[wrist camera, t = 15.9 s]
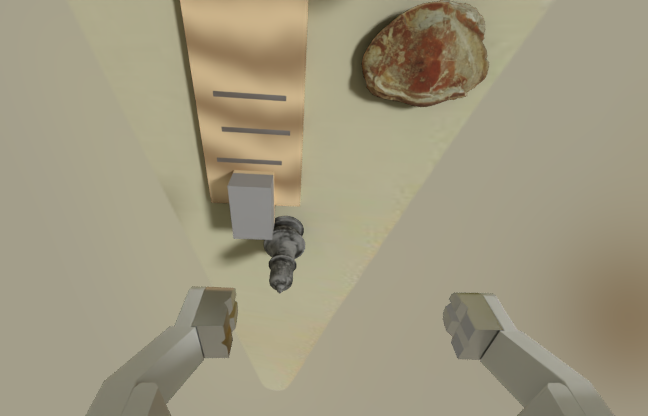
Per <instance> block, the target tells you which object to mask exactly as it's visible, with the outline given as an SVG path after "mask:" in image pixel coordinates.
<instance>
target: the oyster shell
mask: <svg viewBox="0 0 648 416" xmlns="http://www.w3.org/2000/svg"><path fill="white" fill-rule="evenodd" d="M484 32H485V21H484V18H483V16H481V15H480V14H479V12H478V11H477V9H476V8H474V7H472V6H471V5H469V4H466V3H464V4H462V3H456V2H453V1H450V0H440V1H438V2H429V3H424V4H421V5H417V6H415V7H413V8H411V9H409V10H407V11H406V12H404V13H403V14H401V15H399V16H398V17H397V18H395V19H394V20H393V21H392V22H391V23H390V24H388V25H387V26H386V27H385V28H383V29H382V30H381V31H380V32H379V33H378V34H377V36H376V37H375V38H374V39H373V40H372V42H371V44H370V45H369V46H368V48H367V50H366V52H365V54H364V56H363V59H362V69H363V75H364V78H365V80H366V83H367V89H369V91H370V92H371V93H372V94H373V95H375V96H377V97H381V98H383V99H388V100H395V101H399V102H404V103H406V104H409V105H413V106H418V107H428V106H432V105H436V104H439V103H441V102H444V101H447V100H455V99H457V98H462V97H466V96H467V92H468V91H469V90H472V89H473V88H475V87H476V85H477V84H479V83H480V82H482V81H483V80H484V79H485V78H486V75H487V71H488V68H489V62H488V61H487V59H486V58H487V50H486V48H485V46H484V44H483V42H482V41H483V39H484Z"/></svg>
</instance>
